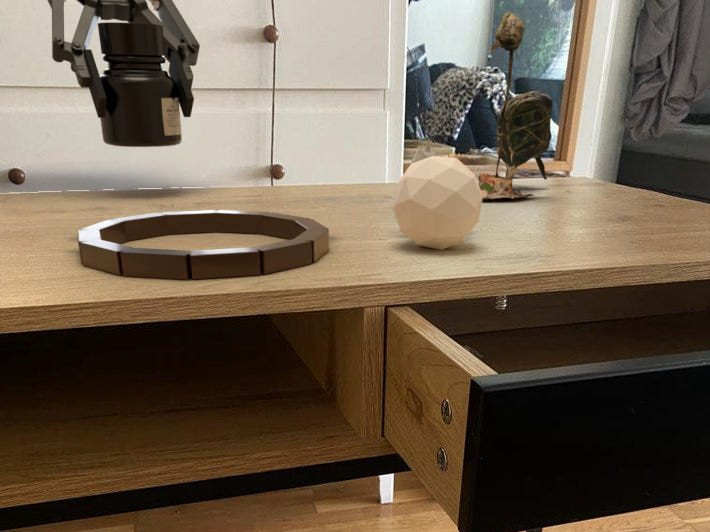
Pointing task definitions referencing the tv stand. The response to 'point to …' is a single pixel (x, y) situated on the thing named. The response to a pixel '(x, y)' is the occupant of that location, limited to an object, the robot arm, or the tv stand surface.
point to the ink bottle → (137, 87)
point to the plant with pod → (517, 122)
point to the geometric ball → (437, 202)
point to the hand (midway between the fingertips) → (146, 108)
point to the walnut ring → (108, 255)
